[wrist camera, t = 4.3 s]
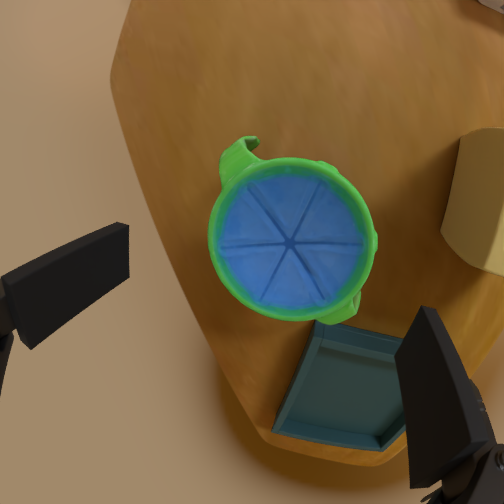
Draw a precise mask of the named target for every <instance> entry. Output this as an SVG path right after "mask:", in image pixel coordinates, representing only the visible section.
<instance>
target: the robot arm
mask: <svg viewBox="0 0 504 504" xmlns="http://www.w3.org/2000/svg"><path fill="white" fill-rule="evenodd" d="M129 277H130V276H129V225H126V224H123V223H119V222H116V223H113V224H111V225H108V226H106V227H104V228H101V229H99V230H96V231H94V232H92V233H89V234H87V235H85V236H83V237H80V238H78V239H76V240H74V241H72V242H69V243H67V244H65V245H63V246H61V247H58V248H56V249H54V250H52V251H50V252H48V253H46V254H44V255H42V256H40V257H38V258H36V259H34V260H32V261H30V262H28V263H26V264H24V265H22V266H20V267H18V268H16V269H14V270H12V271H10V272H8V273H7V274H5V275H3V276H1V279H0V395H1V389H2V384H3V379H4V375H5V370H6V366H7V362H8V358H9V354H10V351H11V346H12V344H13V340H14V335H13V333H12V331H13V330H14V329H17V332H18V335H19V337H20V340H21V341H22V342H23V343H24V344H25V345H26V346H27V347H28V348H29V349H30V350H32V349H33V348H34V347H36V346H37V345H38V344H39V343H41V342H42V341H43V340H45V339H46V338H47V337H48V336H49V335H51V334H52V333H54V332H55V331H56V330H57V329H59V328H60V327H61V326H63V325H64V324H65V323H67V322H68V321H69V320H70V319H72V318H73V317H75V316H76V315H77V314H79V313H80V312H82V311H83V310H84V309H86V308H87V307H88V306H90V305H91V304H93V303H94V302H95V301H96V300H98V299H99V298H101V297H102V296H103V295H105V294H106V293H108V292H109V291H110V290H112V289H114V288H115V287H116V286H118V285H119V284H121V283H122V282H124V281H125V280H126V279H128V278H129ZM394 359H395V364H396V369H397V374H398V379H399V385H400V391H401V397H402V404H403V411H404V418H405V426H406V435H407V445H408V457H409V475H410V489H414V488H428V487H430V486H431V485H433V484H435V483H436V482H438V481H439V480H442V486H441V487H440V488H438V489H437V490H435V491H434V492H432V493H431V494H429V495H427V496H425V497H424V498H423V499H422V500H421V502H424V501H426V500H428V499H429V498H431V499H430V500H429V502H428V503H427V504H504V444H497V442H496V439H495V436H494V432H493V429H492V426H491V423H490V420H489V417H488V414H487V412H485V410H486V408H485V405H484V403H482V397H481V395H480V392H479V390H478V388H477V387H476V386H475V384H474V383H473V382H472V380H471V379H469V378H468V376H467V373H466V371H465V369H464V366H463V364H462V362H461V359H460V357H459V355H458V353H457V351H456V349H455V346H454V344H453V342H452V340H451V338H450V336H449V334H448V332H447V330H446V328H445V326H444V324H443V322H442V320H441V318H440V316H439V315H438V313H437V311H436V309H433V308H430V307H426V306H422V305H421V307H420V309H419V311H418V313H417V315H416V317H415V319H414V321H413V323H412V325H411V326H410V328H409V330H408V332H407V334H406V336H405V338H404V339H403V341H402V343H401V345H400V347H399V348H398V350H397V352H396V353H395V355H394Z"/></svg>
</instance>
